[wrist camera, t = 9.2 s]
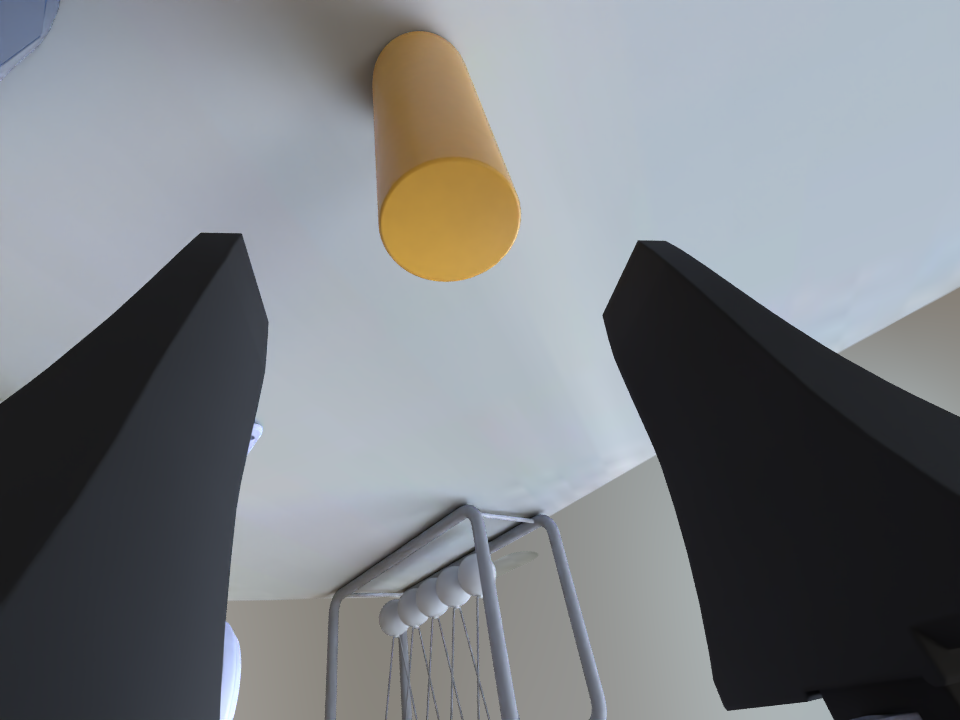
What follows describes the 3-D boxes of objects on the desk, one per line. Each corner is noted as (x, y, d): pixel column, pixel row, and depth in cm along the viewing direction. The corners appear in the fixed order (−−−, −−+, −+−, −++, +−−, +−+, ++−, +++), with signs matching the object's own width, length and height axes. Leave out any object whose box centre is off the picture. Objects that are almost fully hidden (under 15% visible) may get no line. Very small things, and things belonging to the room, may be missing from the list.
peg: (435, 153, 16) (466, 299, 11) (354, 100, 14) (352, 248, 10) (487, 74, 14) (550, 207, 10) (404, 4, 13) (430, 125, 8)
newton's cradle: (402, 595, 62) (411, 767, 51) (328, 595, 56) (320, 790, 45) (555, 507, 45) (618, 734, 34) (472, 495, 40) (516, 764, 28)
